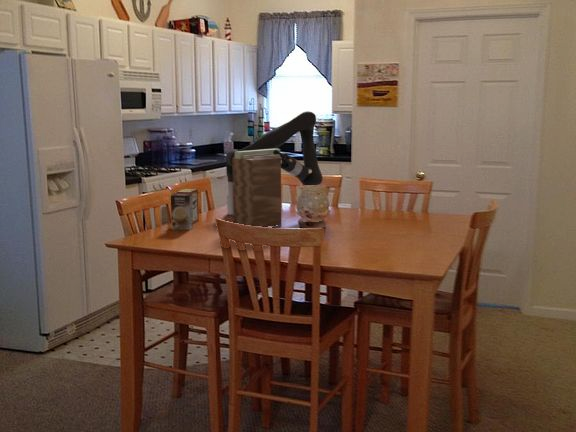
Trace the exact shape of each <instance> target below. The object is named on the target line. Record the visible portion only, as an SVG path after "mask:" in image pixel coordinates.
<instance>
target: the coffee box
mask: <svg viewBox="0 0 576 432" xmlns="http://www.w3.org/2000/svg"><path fill="white" fill-rule="evenodd" d="M170 219H171V220H170V221H171V230H174V231H178V230H180V231H191V230H192V229H193V228H194V223H193V199H192V194H179V193H177V192H176V193H175V192H174V193H172V194H171V195H170Z"/></svg>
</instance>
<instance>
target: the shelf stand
mask: <svg viewBox="0 0 576 432" xmlns="http://www.w3.org/2000/svg"><path fill="white" fill-rule="evenodd" d="M232 166H233V210H234V215H233V224H234V223H239V224H244V225H251V226H262V227H268V226H276V225H281V226H282V168H281V158H280V155H270V154H258V155H246V156H243V159H238V158H232Z"/></svg>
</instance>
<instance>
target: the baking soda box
mask: <svg viewBox="0 0 576 432" xmlns="http://www.w3.org/2000/svg"><path fill="white" fill-rule="evenodd" d="M176 193H179V194H192V199H193V224H195V223H197V222H199V221H200V218H199V189H198V188H197V189H195V188H183V189H181V190H178V191H176Z"/></svg>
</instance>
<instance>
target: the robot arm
mask: <svg viewBox="0 0 576 432" xmlns="http://www.w3.org/2000/svg"><path fill="white" fill-rule="evenodd" d="M316 123H317V116H316V114H315V113H314V112H313V111H303V112H301V113H299V114H298V115H297V116H296V117H294V118H292V119H291V120H289V121H288V122H286V123H283V124H282V125H280V126H278V127H275V128H273V129H271V130H269V131H267V132H266V133H264V134H262V135H261V136H259V137H258V138H257V139H256V140H255V141H254V142H252V143H251V144H250V145H247V146H246V147H243V148H240V149H230V150H229V151H228V152H227V154H226V158H225V169H226V177H227V198H226V203H227V214H228V215H229V216H234V210H233V166H232V158H235V152H237V151H250V150H263V149H279V147H282V146H283V145H284V144H285V143H287V142H288V141H289V140H290V139H291V138H292V137H293V136H295V135H296V134H298V133H299V135H300V138H301V144H302V154H303V155H302V157H303V164H302V163H301V162H300V161H298V160H297V159H296V158H294V157H292V156H291V155H289V154H287V153H284V152H281V151H280V152H279V151H277V150H274V152H273V154H275V155H280V158H281V170H283V171H285V172H286V173H288V174H289V175H292V176H294V177H295V178H297V180H298V181H300V183H301V184H302V185H303V186H304V185H316V186H318V185H320V184H322V182H323V179H324V178H323V174H322V171H321V169H320V167H319V164H318V154H317V149H316V145H315V141H314V140H315V139H314V130H315V129H314V128H315V126H316ZM310 170H311V172H310Z"/></svg>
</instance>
